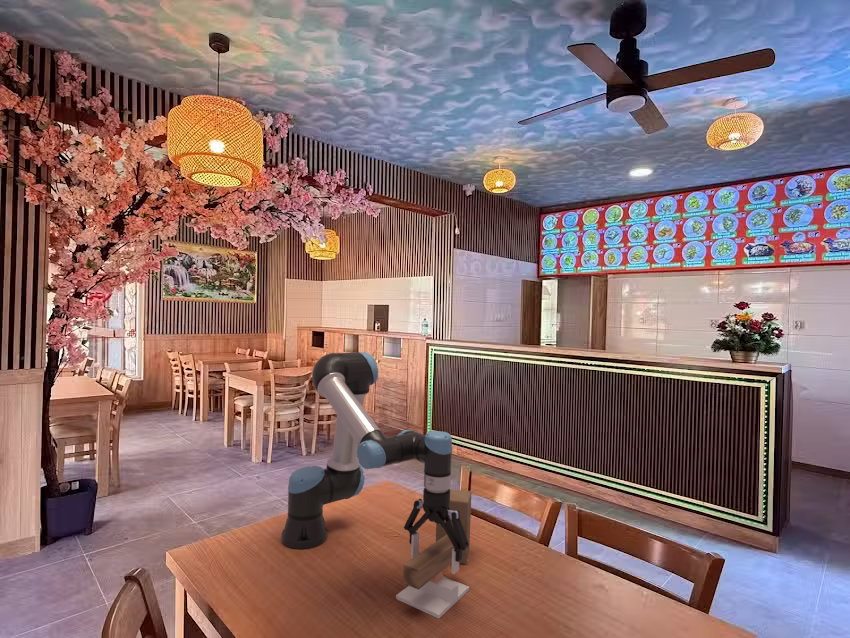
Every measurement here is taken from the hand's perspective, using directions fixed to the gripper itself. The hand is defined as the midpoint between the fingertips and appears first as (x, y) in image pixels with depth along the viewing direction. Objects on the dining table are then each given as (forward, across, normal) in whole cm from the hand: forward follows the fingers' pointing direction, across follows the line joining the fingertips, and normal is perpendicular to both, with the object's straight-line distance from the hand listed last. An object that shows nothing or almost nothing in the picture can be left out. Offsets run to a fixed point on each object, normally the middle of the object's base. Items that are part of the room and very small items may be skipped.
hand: (434, 563), depth 134 cm
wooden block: (+9, -7, +22) cm, 25 cm away
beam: (+1, 0, 0) cm, 1 cm away
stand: (+9, 0, 0) cm, 9 cm away
